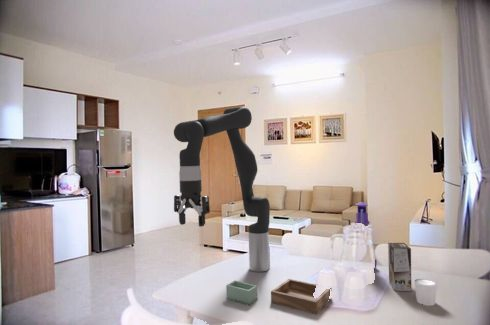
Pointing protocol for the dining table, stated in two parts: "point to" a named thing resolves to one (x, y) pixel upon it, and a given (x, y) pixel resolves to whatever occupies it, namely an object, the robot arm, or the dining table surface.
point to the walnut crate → (299, 296)
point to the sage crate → (241, 292)
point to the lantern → (362, 217)
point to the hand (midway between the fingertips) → (192, 225)
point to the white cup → (426, 291)
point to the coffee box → (399, 266)
